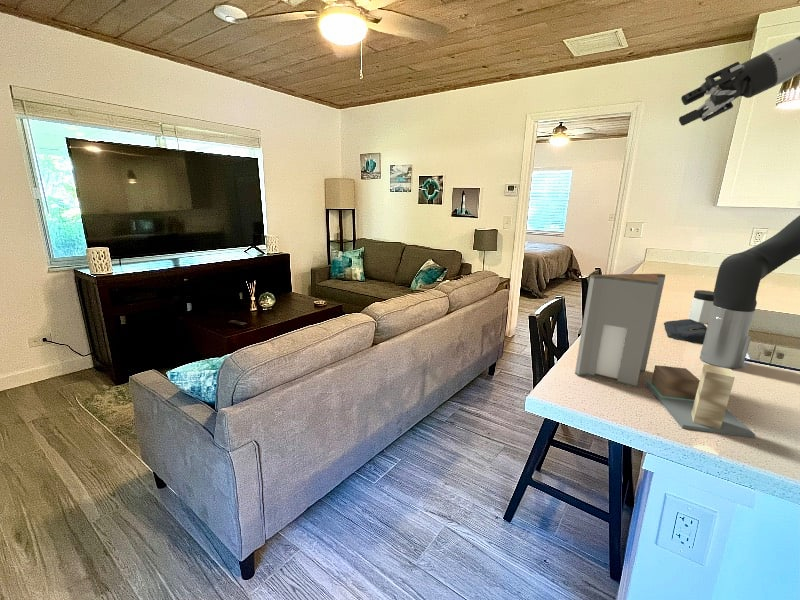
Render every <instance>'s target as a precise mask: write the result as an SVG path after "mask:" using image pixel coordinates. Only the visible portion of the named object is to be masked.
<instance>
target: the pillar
mask: <svg viewBox="0 0 800 600" xmlns="http://www.w3.org/2000/svg"><path fill="white" fill-rule="evenodd" d="M735 379H736V376H735V375H734V372H733V371H732V368H725V367H720V366H716V365H712V364H708V363H703V366H702V370H701V375H700V378H699V380H700V381H699V385H698V389H697V393H696V397H695V401H694V405H693V409H692V419H693V422H694V423H697V424H701V425H705V426H709V427H712V428H716V429H720V428H721V425H722V421H723V418H724V414H725V411H726V409H727V407H728V403H729V401H730V400H729V399H730V396H731V392H732V389H733V386H734V382H735Z"/></svg>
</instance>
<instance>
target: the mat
mask: <svg viewBox="0 0 800 600" xmlns="http://www.w3.org/2000/svg"><path fill="white" fill-rule="evenodd" d="M651 382H652V381H648V380H647V381H645V386H646V387H647V388H648V389H649V390H650V392H651V393H652V394H653V395H654V396H655V397H656V399H657V400H658V401H659V402H660V404H661V405H662V406H663V407H664V408H665V409H666V411H667V412H668V413H669V414H670V415H671V417H672V418H673V419H674V420H675V422H676V424H678V425H679V427H681V429H685V430H691V431H693V430H694V431H700V432H706V433H708V432H709V433H716V434H721V435H729V436H735V437H736V436H737V437H745V438H751V439H752V438H753V439H754V438H755V437H756V434H755V433H754V432H753V431H752V430H751V429H749V428H748V427H747V426H746V425H745V424H744V423H743V422H742V421H741V420H739V418H737V417H736V416H735V414H733V413H732V412H730V411H729V410H728V409H727V408H726V411H725V414H724V418H723V421H722V425H721V428H720V429H716V428H712V427H709V426H705V425H701V424H697V423H694V422H693V419H692V409H693V405H694V401H695V400H691V399H683V398H674V397H666V396H662V394H661V393H660V392H659V391H658V390H657V389H656V388H655V386H654V385H653V384H652V383H651Z"/></svg>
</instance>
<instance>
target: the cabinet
mask: <svg viewBox="0 0 800 600" xmlns="http://www.w3.org/2000/svg"><path fill="white" fill-rule="evenodd" d="M665 280H666V274H665V273H621V274H620V273H619V274H616V273H614V274H590V276H589V282H588V287H587V294H586V299H585V300H586V301H585V306H584V307H585V308H584V312H583V313H584V314H583V320H582V326H581V333H580V340H579V344H578V345H579V346H578V350H577V351H578V353H577V358H576V365H575V371H574V374H575V375H576V377H591V378H595V379H599V380H603V381H607V382H610V383H616V384H619V385H622V386H627V387H630V388H634V389H637V387H638V383H639V378H640V373H645V372H646V370H647V364H648V360H649V355H650V351H651V345H652V340H653V336H654V331H655V326H656V322H657V318H658V313H659V308H660V303H661V298H662V293H663V289H664V284H665Z"/></svg>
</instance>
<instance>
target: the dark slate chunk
mask: <svg viewBox="0 0 800 600" xmlns="http://www.w3.org/2000/svg"><path fill="white" fill-rule="evenodd" d="M663 325H664V330H665V332H666V335H667V338H669V339H672V340H674V341H675V340H676V341H682V342H687V343H690V344H691V343H692V344H698V345H703V342H704V338H705V334H706V330H707V326H706V324H703V323H700V322H697V321H694V320H691V319H688V318H685V319H679V320H669V321H667V320H666V321H665V322H663Z"/></svg>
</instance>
